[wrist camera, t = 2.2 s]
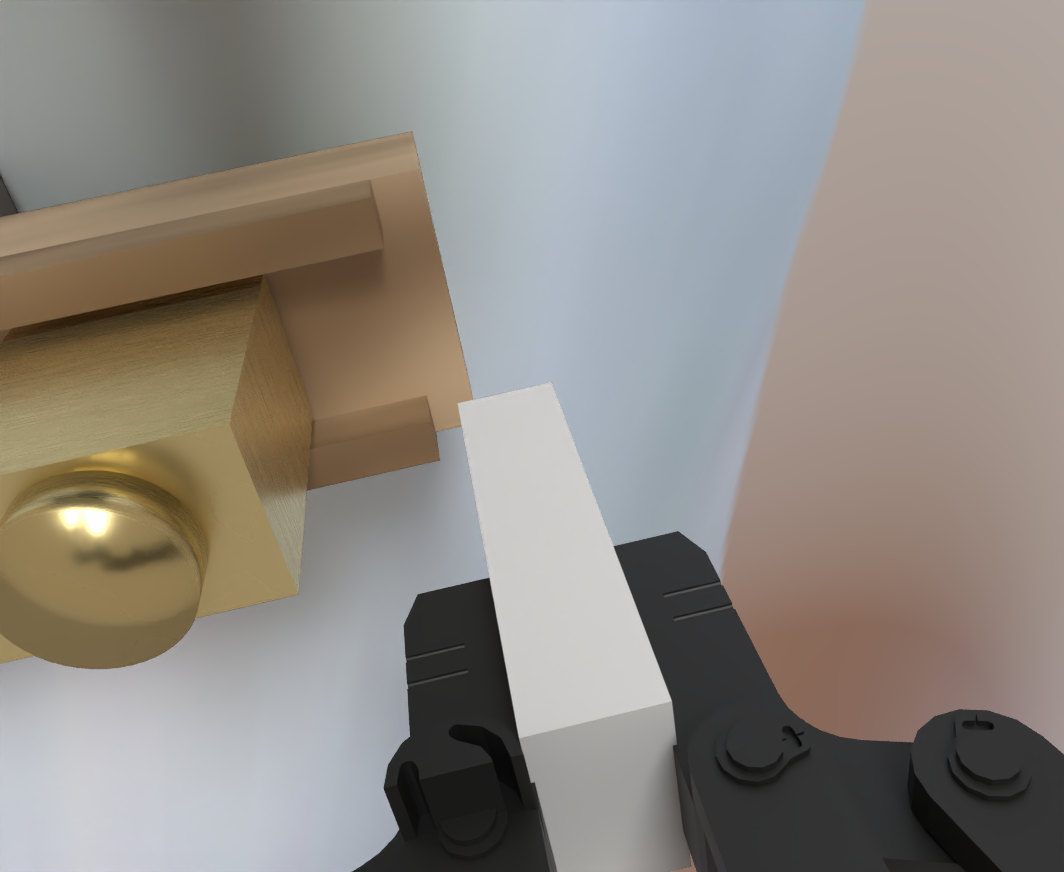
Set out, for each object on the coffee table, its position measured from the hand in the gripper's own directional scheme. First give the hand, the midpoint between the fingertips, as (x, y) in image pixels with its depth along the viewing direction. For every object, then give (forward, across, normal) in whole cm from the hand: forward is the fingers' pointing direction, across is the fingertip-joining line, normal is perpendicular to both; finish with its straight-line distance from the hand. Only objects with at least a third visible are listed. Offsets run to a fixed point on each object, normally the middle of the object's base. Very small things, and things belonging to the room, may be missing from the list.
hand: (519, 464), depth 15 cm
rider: (+6, -6, 0) cm, 9 cm away
